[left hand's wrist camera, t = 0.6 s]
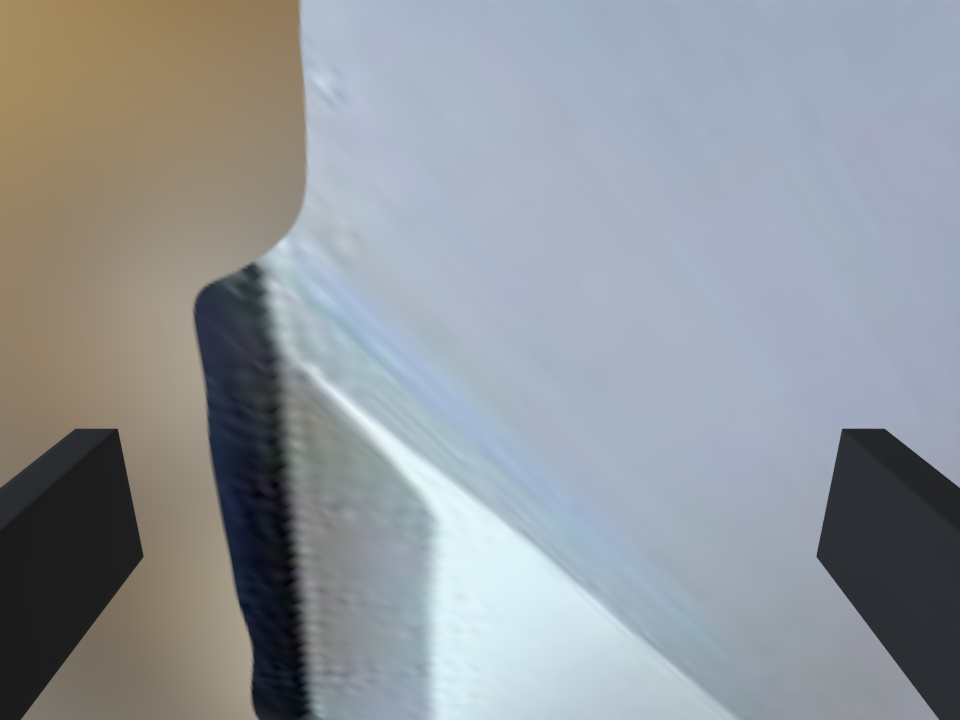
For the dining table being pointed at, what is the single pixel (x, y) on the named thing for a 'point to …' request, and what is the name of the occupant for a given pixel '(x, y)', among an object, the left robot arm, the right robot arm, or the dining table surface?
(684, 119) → the dining table surface
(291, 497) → the dining table surface
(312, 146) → the dining table surface
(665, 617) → the dining table surface
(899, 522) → the left robot arm
